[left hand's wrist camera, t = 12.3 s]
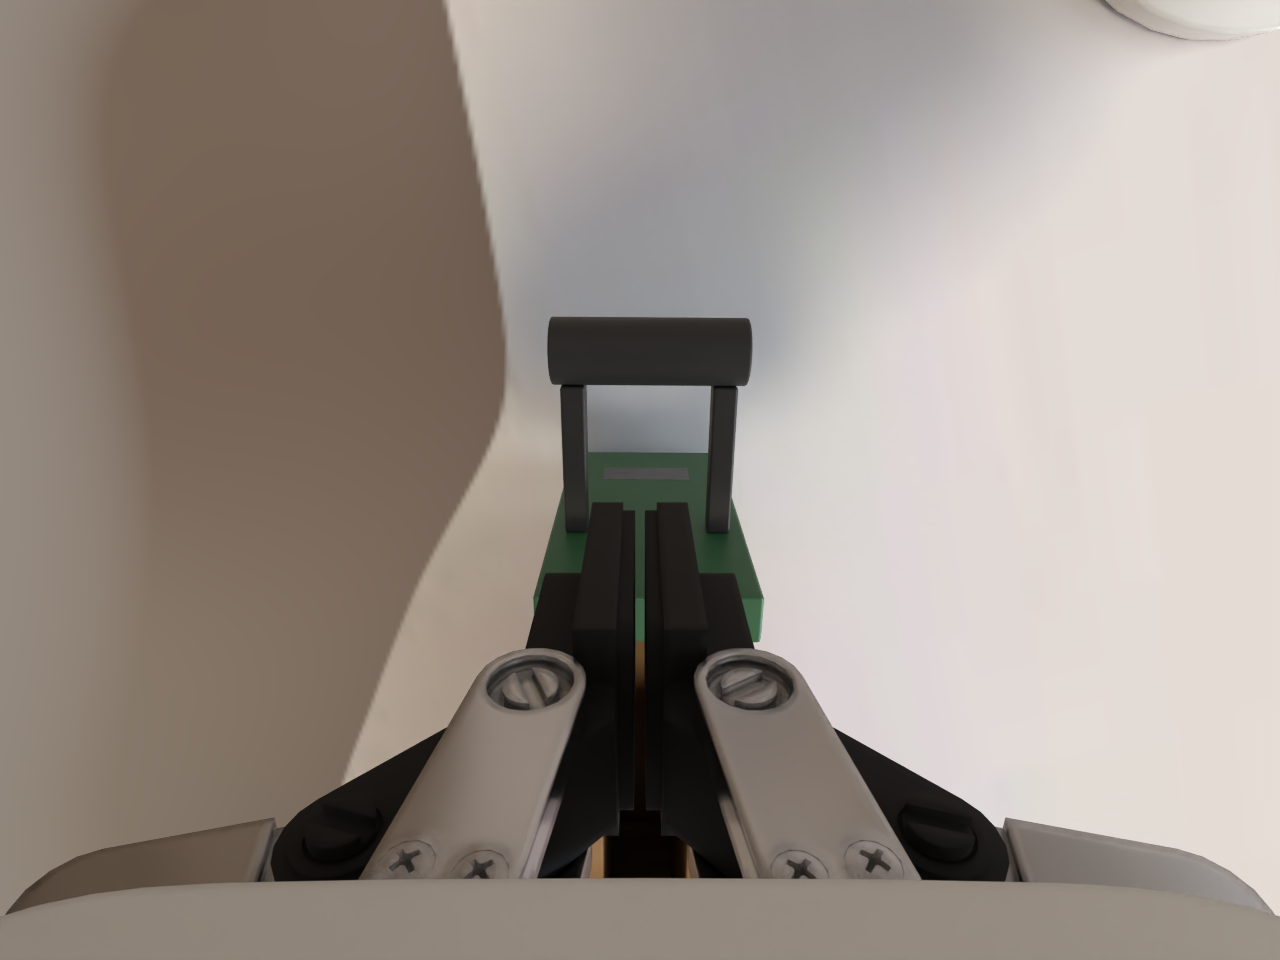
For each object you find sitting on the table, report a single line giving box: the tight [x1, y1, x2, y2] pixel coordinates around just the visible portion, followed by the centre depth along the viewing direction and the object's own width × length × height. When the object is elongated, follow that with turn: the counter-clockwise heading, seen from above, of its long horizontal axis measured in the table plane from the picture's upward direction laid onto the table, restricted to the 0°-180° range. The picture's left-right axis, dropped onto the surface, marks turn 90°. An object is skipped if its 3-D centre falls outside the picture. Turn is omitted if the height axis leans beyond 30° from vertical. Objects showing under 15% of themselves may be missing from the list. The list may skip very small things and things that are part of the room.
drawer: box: [533, 317, 764, 878], centre depth 22 cm, size 22×5×10 cm, turn 0°
